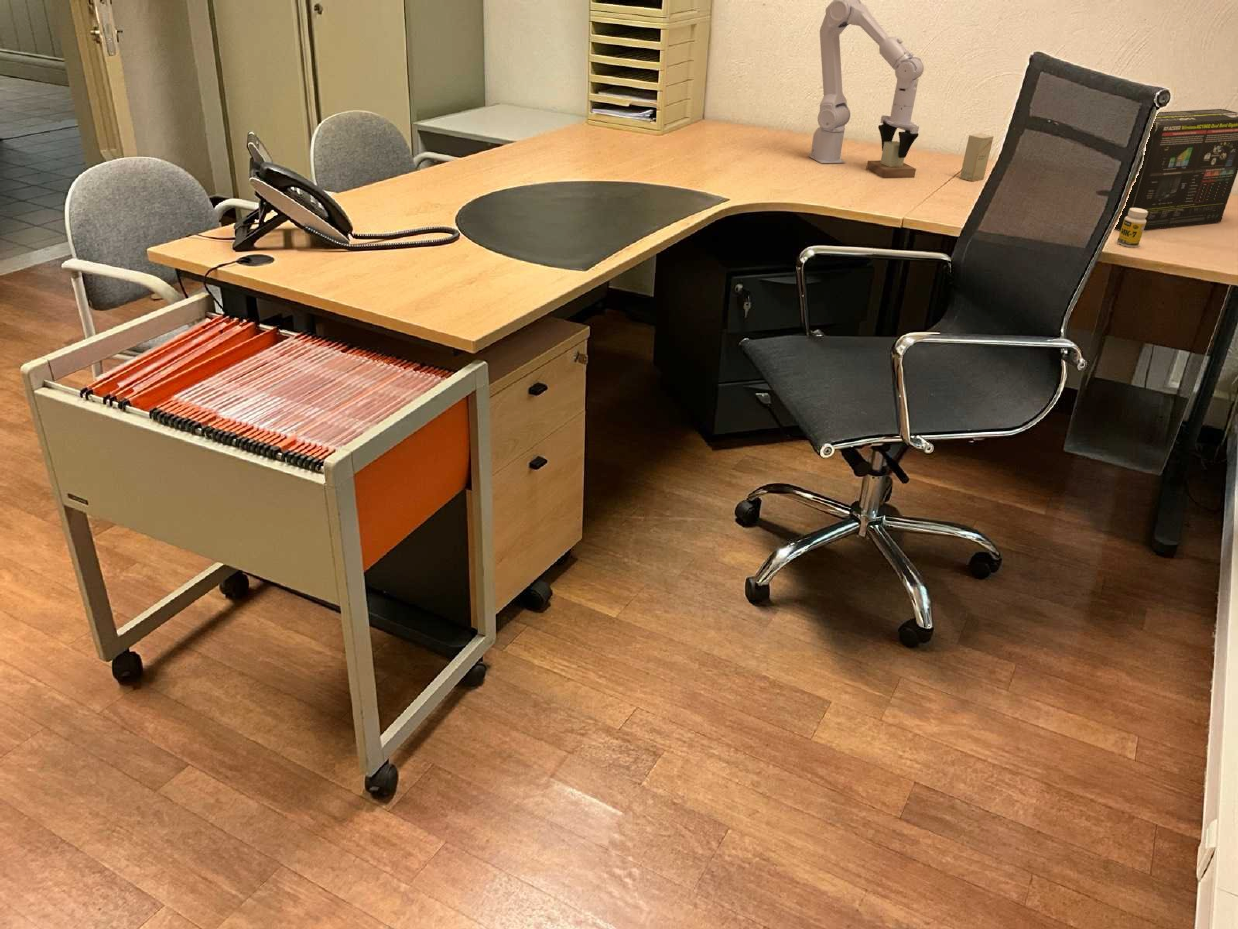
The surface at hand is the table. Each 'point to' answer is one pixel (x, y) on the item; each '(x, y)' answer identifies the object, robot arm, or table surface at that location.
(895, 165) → the sage block
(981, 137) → the skincare box
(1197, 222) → the router box
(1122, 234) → the supplement bottle
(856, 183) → the table surface
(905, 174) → the walnut block
